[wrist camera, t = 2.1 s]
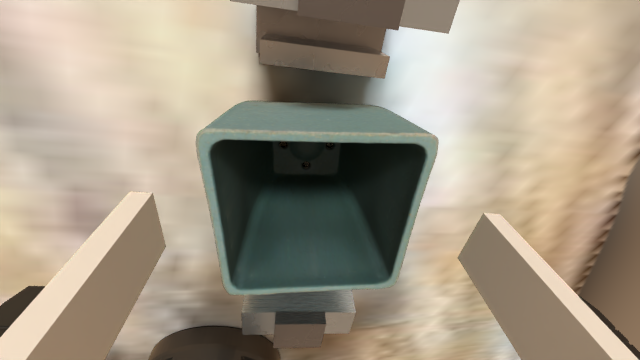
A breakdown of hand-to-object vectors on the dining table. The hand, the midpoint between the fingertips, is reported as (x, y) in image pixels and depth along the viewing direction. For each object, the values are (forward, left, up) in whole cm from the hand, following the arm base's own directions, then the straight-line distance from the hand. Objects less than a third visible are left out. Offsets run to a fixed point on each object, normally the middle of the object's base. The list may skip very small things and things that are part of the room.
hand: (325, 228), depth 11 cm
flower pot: (0, 0, -10) cm, 10 cm away
